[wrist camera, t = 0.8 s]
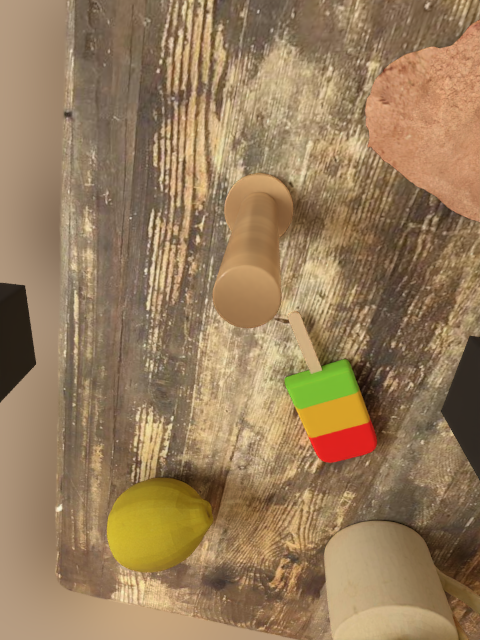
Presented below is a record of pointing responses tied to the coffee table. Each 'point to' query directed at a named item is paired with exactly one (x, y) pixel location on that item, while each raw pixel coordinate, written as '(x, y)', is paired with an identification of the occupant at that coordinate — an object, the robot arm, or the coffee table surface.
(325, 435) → the popsicle
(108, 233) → the coffee table surface
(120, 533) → the lemon
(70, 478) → the coffee table surface
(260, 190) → the stick
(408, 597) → the sugar bowl
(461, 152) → the clay slab
